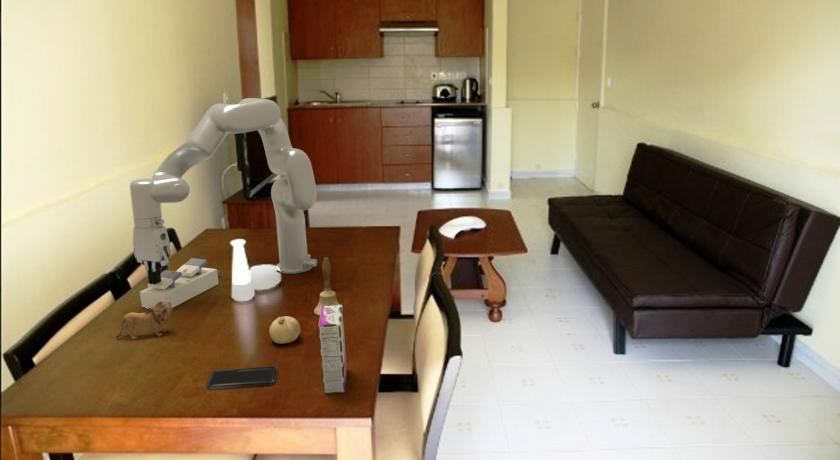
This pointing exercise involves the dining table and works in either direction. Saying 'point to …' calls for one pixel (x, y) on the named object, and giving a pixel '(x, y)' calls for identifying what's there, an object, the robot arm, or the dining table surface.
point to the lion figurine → (147, 318)
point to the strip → (181, 288)
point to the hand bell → (326, 289)
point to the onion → (284, 330)
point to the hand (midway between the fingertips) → (155, 282)
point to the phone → (242, 378)
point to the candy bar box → (332, 349)
